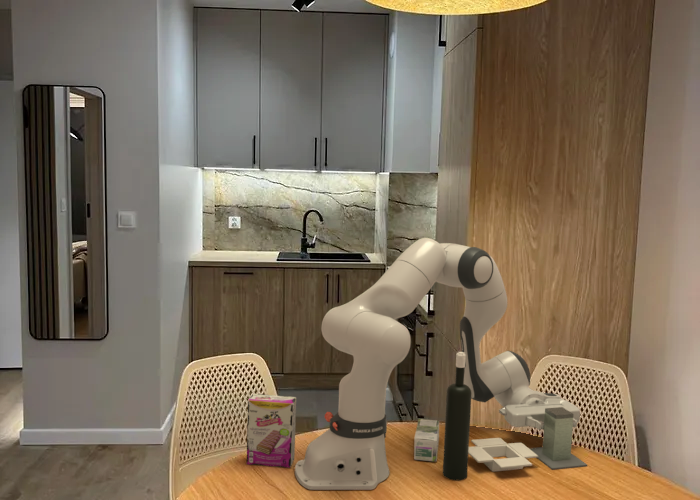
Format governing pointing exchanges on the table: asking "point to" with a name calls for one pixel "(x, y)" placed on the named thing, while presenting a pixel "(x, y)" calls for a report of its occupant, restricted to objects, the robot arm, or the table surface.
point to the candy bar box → (271, 430)
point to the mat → (558, 464)
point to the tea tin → (557, 434)
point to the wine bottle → (457, 425)
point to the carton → (501, 454)
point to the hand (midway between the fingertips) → (558, 425)
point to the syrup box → (426, 440)
